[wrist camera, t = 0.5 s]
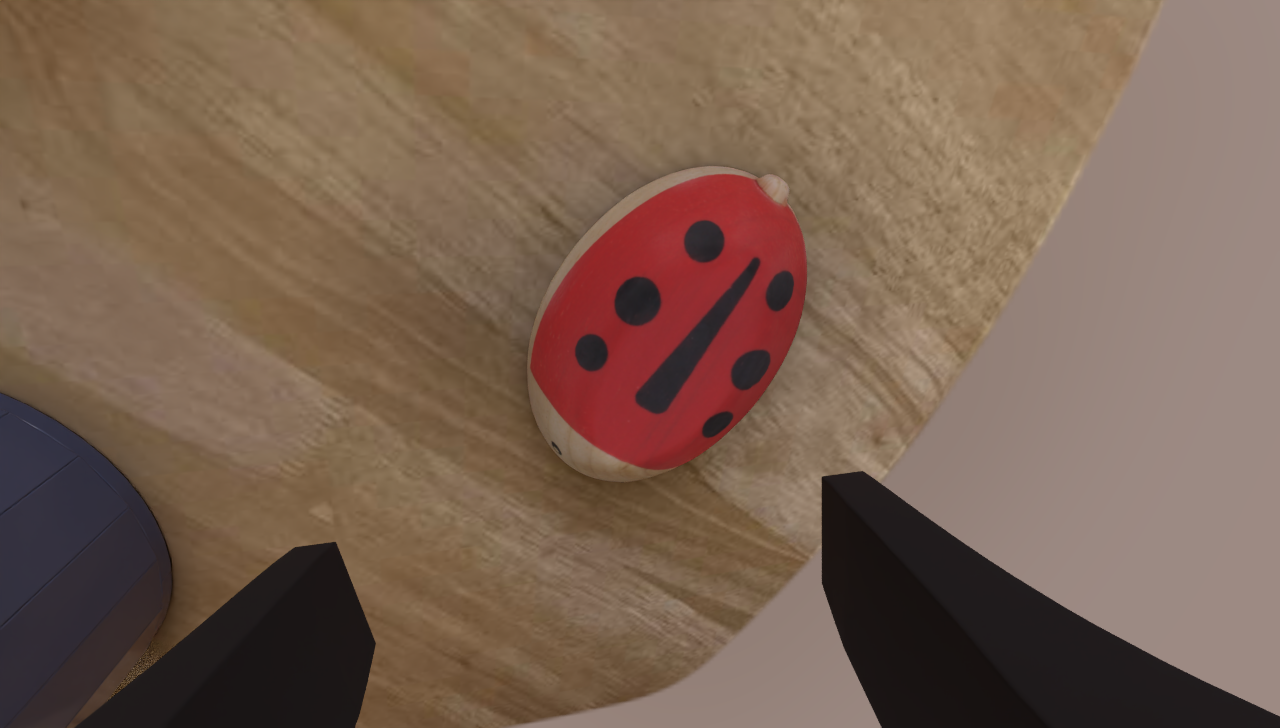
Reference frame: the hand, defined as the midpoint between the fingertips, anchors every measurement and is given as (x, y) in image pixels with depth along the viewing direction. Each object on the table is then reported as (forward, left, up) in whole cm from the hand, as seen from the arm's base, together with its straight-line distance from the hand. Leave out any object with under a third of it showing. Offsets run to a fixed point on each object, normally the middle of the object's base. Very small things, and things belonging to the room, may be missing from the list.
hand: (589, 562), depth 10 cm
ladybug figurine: (0, -2, -10) cm, 10 cm away
